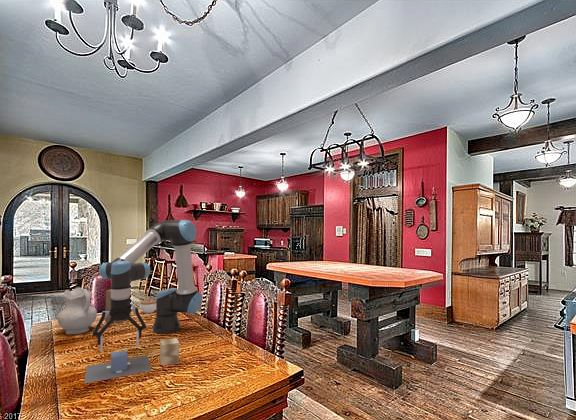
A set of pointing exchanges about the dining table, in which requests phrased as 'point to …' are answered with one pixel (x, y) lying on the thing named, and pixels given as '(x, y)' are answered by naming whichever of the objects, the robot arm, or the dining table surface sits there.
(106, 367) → the board
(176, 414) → the dining table surface
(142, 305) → the lidded jar
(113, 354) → the blue cube
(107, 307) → the wooden block
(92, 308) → the ceramic pitcher
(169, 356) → the maple block
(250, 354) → the dining table surface
